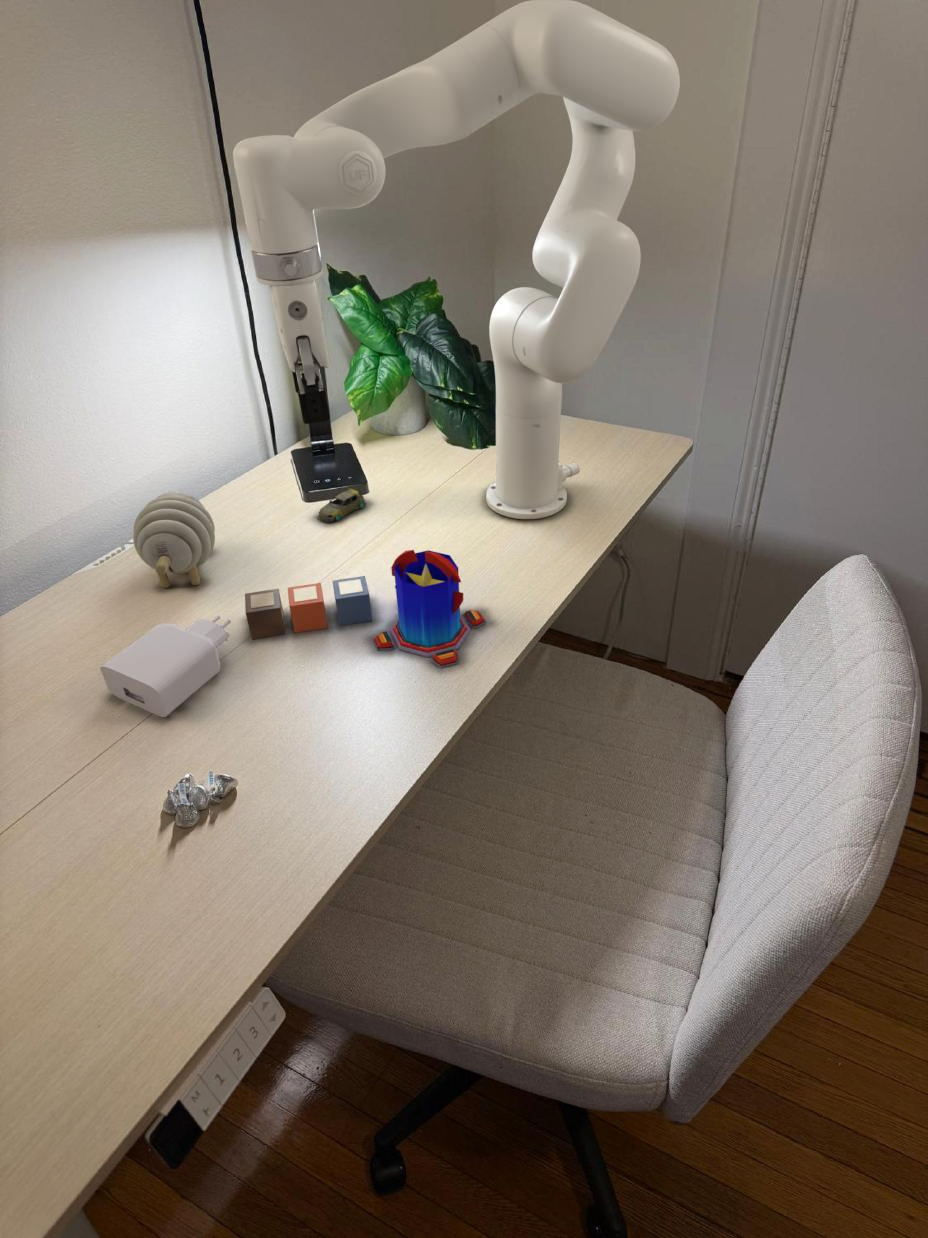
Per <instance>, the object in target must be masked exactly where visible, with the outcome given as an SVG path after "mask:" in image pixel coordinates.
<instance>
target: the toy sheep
mask: <svg viewBox="0 0 928 1238" xmlns="http://www.w3.org/2000/svg"><path fill="white" fill-rule="evenodd" d="M215 533H216V528H215V524H214V520H213V518H212V516H211V514H210V512H209V511H208V510H207V509H206V507H205V505H203V503H202V502H201V501H200V500H199V499H197V498H196V497H194V496H192V495H190V494H188V493H185V492H181V491H179V492H178V491H171V492H165V493H162V494H161V495H158V496H157V497H155V498H154V499H152V500H151V501H150V502H148V503H147V504H146V505H145V506H144V508H143V509H142V510H141V511H140V512H139V514H138V515H137V517H136V518H135V520H134V523H133V534H132V541H133V546H134V550H135V551H136V553H137V555H138V556H139V558H140V559H141V560H142V561H143V562H144V563H145V564H146V565H147V566H148V567H149V568H151V569H153V570H155V572H156V574H157V578H158V581H159V584H160V587H161V588H163V589H167V588H169V587H170V586H171V581H170V578H169V575H184V574H188V576H189V580H190V583H191V585H193V586H199V584H201V577H200V573H199V570H198V569H199V568H201V567H202V566H203V565H204V564H205V563H206V561H207V559H208V558H209V556H210V555H211V553H212V552H213V550H214V547H215V543H216V534H215Z"/></svg>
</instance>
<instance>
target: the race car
mask: <svg viewBox="0 0 928 1238" xmlns="http://www.w3.org/2000/svg"><path fill="white" fill-rule="evenodd" d="M366 505H367V502H366V499H365V497H364V495H363V494H362V493H360V491H358V490H356V489H354V488H351V487H349V488H348V489H347V490H345V491H342V492H341V493H338V495H336V496H334V497H333V498H332V499H329V502H328V503H327V504H325V505H324V506H322V507H321V508H320V510H319V512H318V515H317V517H316V518H317V519H318V520H320V521H321V522H324V523H326V524H328V523H329V524H330V523H334V522H335V521H339V520H340V519H341V518H342V517H343V516H345V515H347V514H349V513H351V512H353V511H356V510H358V509H363V508H364V506H366Z"/></svg>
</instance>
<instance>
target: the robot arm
mask: <svg viewBox="0 0 928 1238" xmlns="http://www.w3.org/2000/svg"><path fill="white" fill-rule="evenodd" d="M680 86H681V77H680V71H679V67H678V64H677V61H676V60H675V58H674V56H673V55H672V53H671V52H670V51H669V50H668V49H667V48H666V47H665V46H664V45H663V44H662V43H660V42H657V41H656V40H654V39H652V38H650V37H648V36H646V35H644V34H643V33H640V32H638V31H637V30H634V29H633V28H631V27H629V26H627V25H626V24H624V23H622V22H619V21H618V20H616V19H615V18H612V17H610V16H609V15H607V14H605V13H603V12H601V11H600V10H597V9H596V8H593V7H591V6H589V5H587V4H584V3H582V2H580V1H576V0H526V1H522V2H519V3H517V4H516V5H513V6H512V7H510V8H508V9H506V10H505V11H503V12H501V13H499V14H498V15H496V16H494V17H493V18H491V19H490V20H488V21H486V22H485V23H483V24H482V25H480V26H479V27H477V28H475V29H474V30H472V31H470V32H469V33H468V34H465V35H464V36H463V37H461V38H459V39H458V40H456V41H455V42H453V43H451V44H449V45H448V46H446V47H444V48H443V49H442V50H439V51H438V52H436V53H434V54H433V55H431V56H429V57H428V58H425V59H424V60H421V61H420V62H417V63H414V64H412V65H410V66H407V67H405V68H403V69H402V70H399V71H398V72H396V73H393V74H392V75H390V76H388V77H385V78H383V79H381V80H378V81H375V82H374V83H372V84H369V85H367V86H365V87H364V88H361V89H359V90H356V91H355V92H353V93H351V94H350V95H348V96H346V97H344V98H343V99H341V100H339V101H338V102H336V103H334V104H333V105H331V106H330V107H328V108H327V109H325V110H323V111H321V112H319V113H318V114H316V115H315V116H314V117H312V118H310V119H309V120H308V121H306V122H305V123H304V124H302V125H301V126H300V128H299V129H298V130H297V131H296V133H295V134H294V136H291V135H285V134H284V135H283V134H270V135H269V134H268V135H259V136H254V137H248V138H245V139H242V140H241V141H239V142H237V143H236V145H235V146H234V148H233V152H232V159H233V165H234V170H235V175H236V180H237V185H238V191H239V194H240V201H241V205H242V210H243V211H242V212H243V215H244V221H245V226H246V231H247V236H248V241H249V246H250V251H251V257H252V262H253V267H254V272H255V277H256V281H257V282H258V283H260V284H261V285H265V286H268V287H269V294H270V299H271V303H272V308H273V313H274V317H275V323H276V326H277V332H278V336H279V339H280V343H281V346H282V348H283V353H284V356H285V359H286V361H287V365H288V368H289V370H290V371H291V373H292V378H293V384H294V390H295V392H296V393H297V396H298V402H299V408H300V412H301V417H302V423H304V425H310V424H315V423H317V424H318V423H323V422H328V421H329V420H330V411H329V405H328V400H327V393H326V388H325V387H324V385H323V380H322V379H323V378H322V374H321V369H320V367H322V368H323V367H325V369H328V368H329V367H330V366H331V361H330V354H329V350H328V344H327V337H326V330H325V324H324V320H323V313H322V307H321V301H320V296H319V291H318V287H317V282H316V280H318V279H320V278H321V277H322V276H323V275H324V270H323V264H322V257H321V250H320V244H319V243H320V242H319V238H318V231H317V225H316V224H317V223H316V217H315V210H352V209H357V208H361V207H364V206H366V205H368V204H369V203H371V202H372V201H374V200H375V199H376V198H377V196H378V195H379V194H380V193H381V191H382V189H383V186H384V184H385V180H386V174H387V173H386V171H387V170H386V162H385V159H386V158H389V157H390V156H393V155H396V154H398V153H401V152H405V151H408V150H412V149H417V148H425V147H426V148H427V147H435V146H442V145H447V144H450V143H454V142H458V141H461V140H464V139H466V138H467V137H469V136H470V135H472V134H473V133H475V132H477V131H478V130H480V129H481V128H482V127H485V126H486V125H487V124H489V123H490V122H492V121H493V120H495V119H497V118H498V117H500V116H502V115H503V114H505V113H506V112H508V111H510V110H511V109H513V108H514V107H516V106H518V105H519V104H521V103H523V102H524V101H525V100H527V99H529V98H530V97H532V96H534V95H537V94H546V95H552V96H558V97H561V98H562V99H563V103H564V106H565V110H566V112H567V115H568V119H569V123H570V128H571V129H570V130H571V135H572V136H571V137H572V145H571V154H570V158H569V162H568V165H567V167H566V170H565V172H564V175H563V178H562V181H561V183H560V185H559V187H558V189H557V191H556V194H555V196H554V198H553V200H552V202H551V204H550V207H549V209H548V211H547V213H546V215H545V217H544V220H543V222H542V223H541V227H540V228H539V231H538V233H537V235H536V238H535V241H534V244H533V247H532V255H531V256H532V257H531V258H532V263H533V267H534V269H535V270H536V272H537V273H538V274H539V275H540V276H541V277H542V278H543V279H545V281H547V282H550V283H551V284H553V285H556V286H558V287H560V288H562V290H561V292H560V295H559V297H557V296H555V295H553V294H550V293H548V292H546V291H544V290H542V289H538V288H535V287H529V286H522V287H516V288H513V289H511V290H508V291H507V292H506V293H503V295H501V297H500V298H498V300H497V301H496V303H495V304H494V306H493V309H492V311H491V315H490V318H489V326H488V327H489V330H488V331H489V332H488V333H489V342H490V350H491V354H492V355H491V356H492V362H493V367H494V376H495V377H494V379H495V481H494V482H493V483H491V484H490V485H489V487H488V488H487V490H486V491H485V493H486V494H485V500H486V504H487V505H488V507H489V508H490V509H491V510H492V511H493V512H495V513H497V514H499V515H500V516H501V515H502V516H504V517H507V518H511V519H516V520H539V519H542V518H547V517H550V516H553V515H555V514H557V513H558V512H560V511H561V510H562V509H564V507H565V506H566V504H567V502H568V492H567V490H566V488H565V487H564V485H563V483H564V482H566V480H567V479H569V478H571V477H573V476H575V475H578V474H579V473H580V471H581V467H580V466H579V464H578V463H577V462H572V463H569V464H567V465H565V466H563V463H562V462H561V461H560V459H559V458H560V443H561V442H560V440H561V439H560V438H561V421H562V420H561V419H562V407H563V406H562V405H563V384H569V383H574V382H576V381H577V380H580V379H581V378H582V377H584V376H585V375H586V374H587V373H588V372H589V371H590V370H591V368H592V367H593V366H594V365H595V363H596V362H597V360H598V358H599V357H600V355H601V353H602V351H603V350H604V347H605V346H606V344H607V342H608V339H609V338H610V336H611V334H612V332H613V330H614V328H615V326H616V325H617V322H618V320H619V319H620V316H621V314H622V312H623V311H624V309H625V306H626V305H627V303H628V301H629V299H630V297H631V295H632V293H633V290H634V288H635V286H636V283H637V280H638V278H639V274H640V270H641V269H640V267H641V260H642V253H641V246H640V245H641V244H640V243H639V239H638V237H637V235H636V234H635V232H634V231H633V230H632V228H630V227H629V226H627V225H626V224H624V223H623V222H621V221H619V220H618V218H619V216H620V214H621V211H622V210H623V207H624V204H625V202H626V199H627V198H628V195H629V193H630V191H631V190H630V189H631V187H632V185H633V181H634V177H635V170H636V146H635V137H634V132H646V131H650V130H652V129H654V128H657V127H658V126H660V125H661V124H662V123H663V122H665V120H666V119H667V118H668V117H669V116H670V114H671V113H672V111H673V109H674V108H675V105H676V104H677V100H678V97H679V93H680Z"/></svg>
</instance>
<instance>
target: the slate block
mask: <svg viewBox="0 0 928 1238" xmlns="http://www.w3.org/2000/svg"><path fill="white" fill-rule="evenodd" d="M332 587H333V594H334V600H335V607H336V613H337V618H338V625H339V626H347V625H354V624H358V623H359V624H360V623H366V622H371V621H373V615H372V614H373V613H372V605H371V597H370V592H369V588H368V583H367V578H366V576H365V575H363V576H355V577H348V578H342V579H335V580H332Z"/></svg>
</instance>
